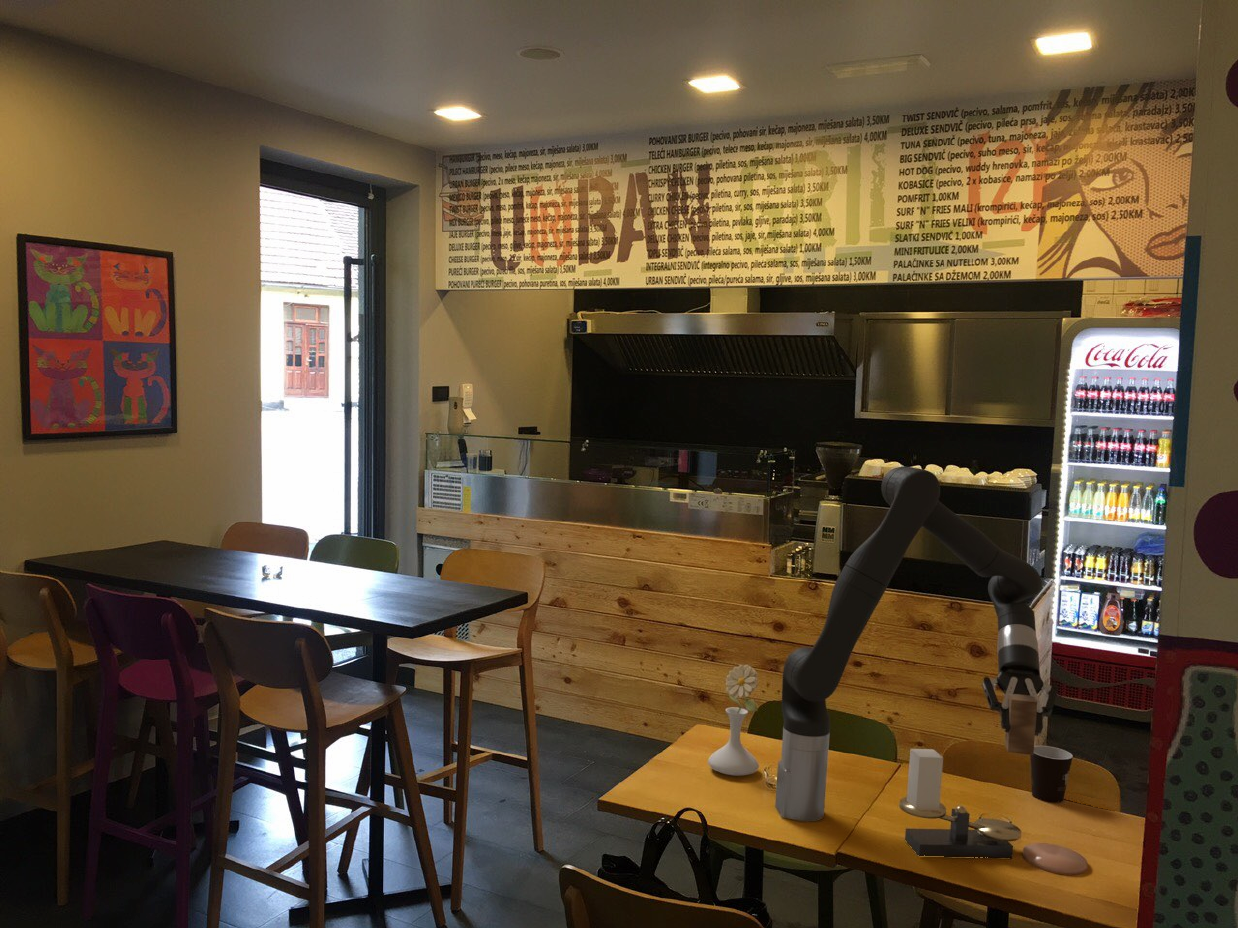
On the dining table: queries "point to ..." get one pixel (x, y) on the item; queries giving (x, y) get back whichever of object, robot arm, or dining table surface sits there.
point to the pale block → (924, 779)
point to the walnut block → (1021, 724)
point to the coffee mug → (1049, 773)
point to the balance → (960, 835)
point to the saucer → (1055, 858)
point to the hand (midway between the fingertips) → (1022, 731)
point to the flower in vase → (737, 725)
